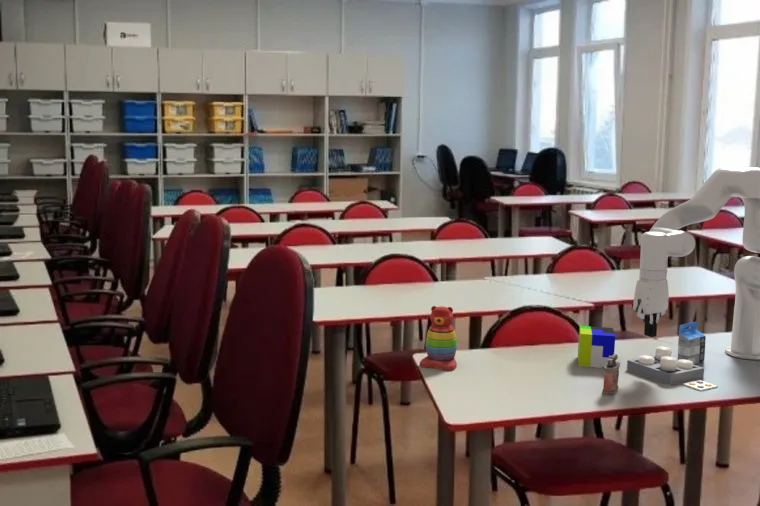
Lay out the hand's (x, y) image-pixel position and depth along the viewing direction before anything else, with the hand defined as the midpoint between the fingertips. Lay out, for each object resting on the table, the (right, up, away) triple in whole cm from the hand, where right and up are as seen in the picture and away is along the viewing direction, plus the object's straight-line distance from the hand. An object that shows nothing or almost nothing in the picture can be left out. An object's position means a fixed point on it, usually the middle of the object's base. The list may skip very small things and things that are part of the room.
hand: (650, 335), depth 242 cm
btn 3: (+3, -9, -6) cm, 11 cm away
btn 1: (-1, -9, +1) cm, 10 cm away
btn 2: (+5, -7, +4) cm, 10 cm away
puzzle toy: (-14, -9, +10) cm, 19 cm away
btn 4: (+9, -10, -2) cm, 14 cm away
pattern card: (+10, -13, -11) cm, 20 cm away
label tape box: (+16, -10, +11) cm, 22 cm away
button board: (+4, -11, 0) cm, 12 cm away
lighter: (-16, -14, -17) cm, 27 cm away
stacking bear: (-61, -9, +5) cm, 62 cm away
